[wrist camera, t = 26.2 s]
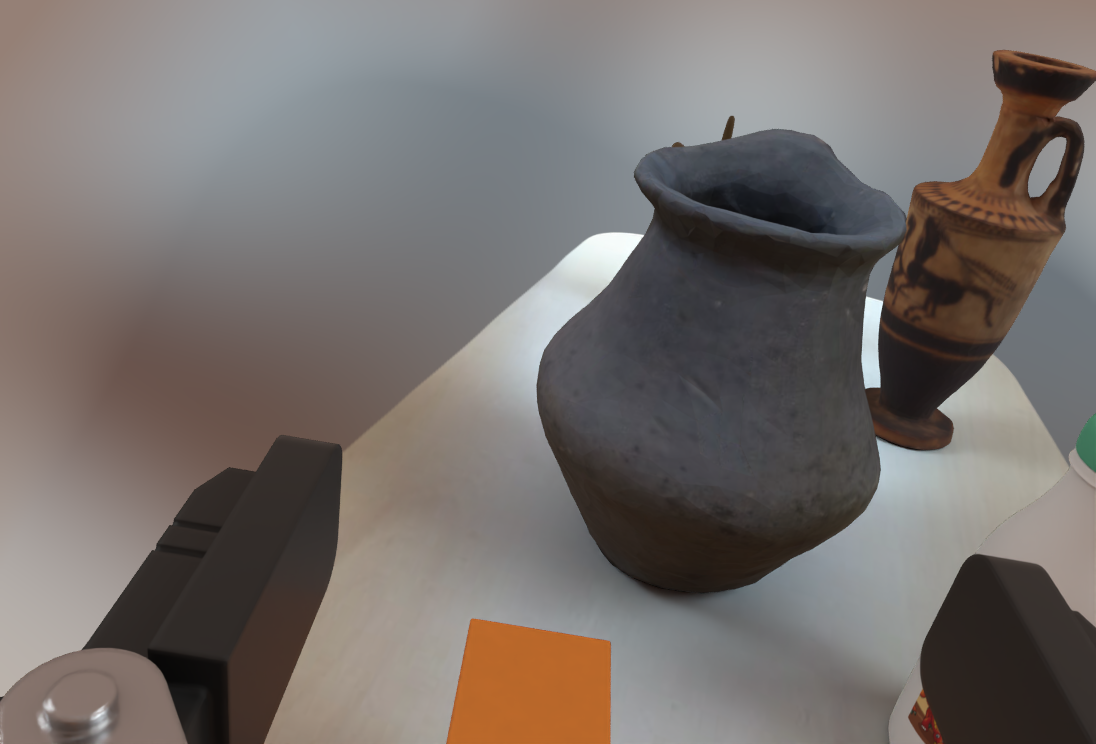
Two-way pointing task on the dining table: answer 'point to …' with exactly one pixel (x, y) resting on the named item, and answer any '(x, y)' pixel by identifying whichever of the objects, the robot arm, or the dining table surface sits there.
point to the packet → (531, 687)
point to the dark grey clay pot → (725, 366)
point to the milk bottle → (1037, 537)
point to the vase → (974, 253)
